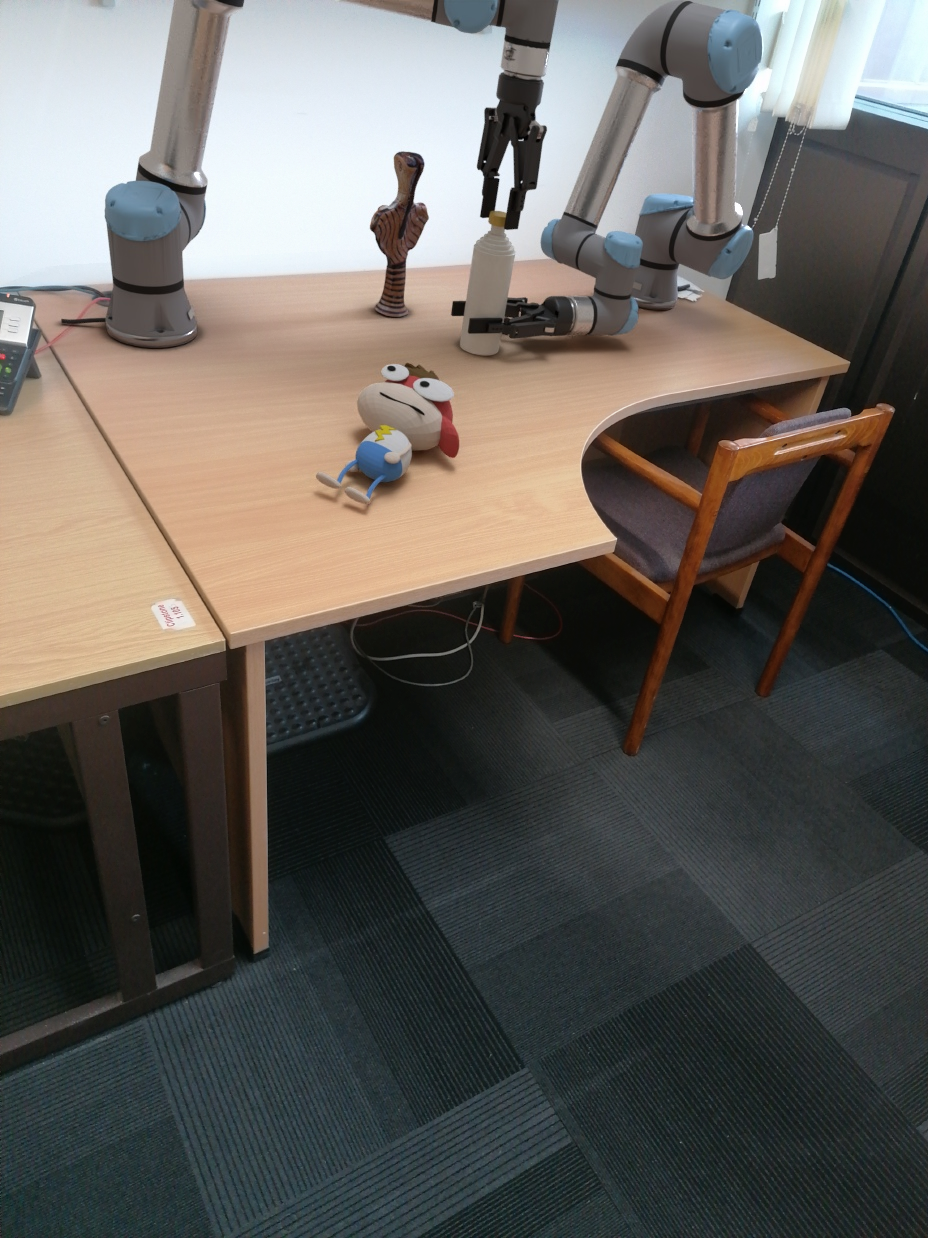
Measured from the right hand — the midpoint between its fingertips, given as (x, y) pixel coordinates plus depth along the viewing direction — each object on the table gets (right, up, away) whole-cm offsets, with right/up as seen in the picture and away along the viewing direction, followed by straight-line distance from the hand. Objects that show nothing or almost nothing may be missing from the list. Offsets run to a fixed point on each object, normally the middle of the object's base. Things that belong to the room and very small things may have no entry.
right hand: (461, 316), depth 168 cm
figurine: (-14, +6, +14) cm, 21 cm away
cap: (+7, +15, -10) cm, 19 cm away
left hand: (+7, +14, -9) cm, 18 cm away
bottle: (+3, -4, +6) cm, 8 cm away
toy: (-11, -33, -34) cm, 49 cm away
